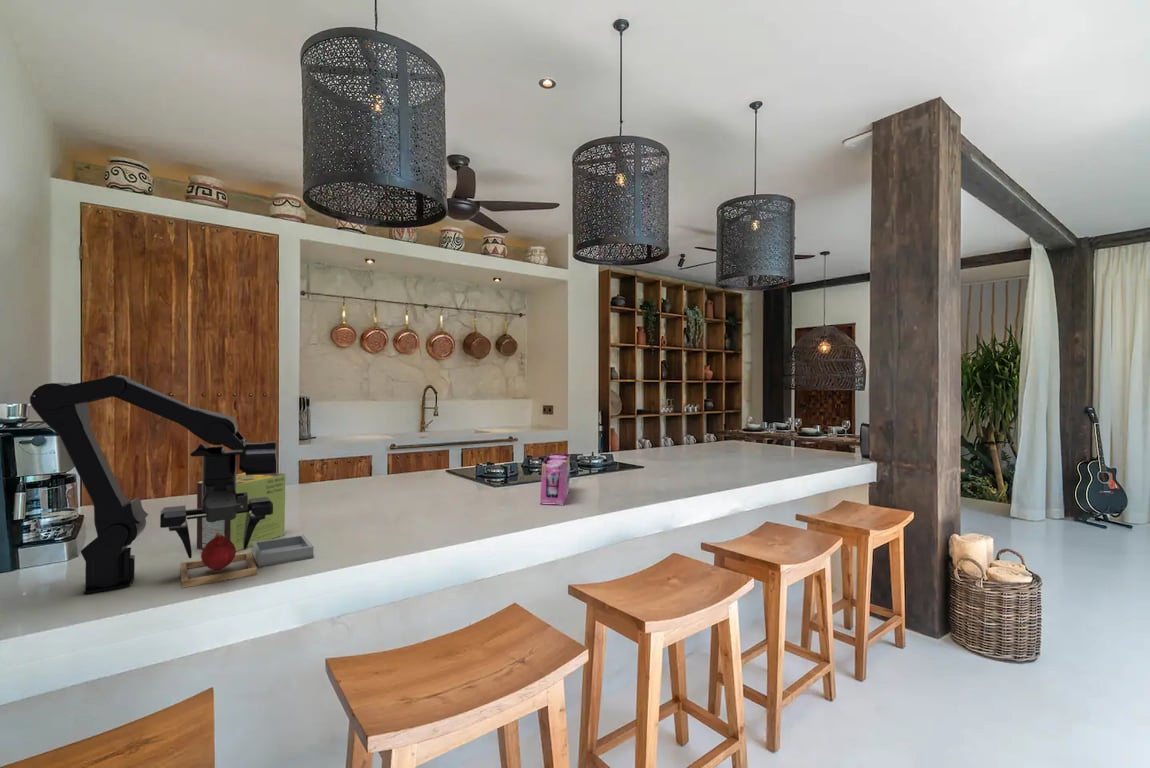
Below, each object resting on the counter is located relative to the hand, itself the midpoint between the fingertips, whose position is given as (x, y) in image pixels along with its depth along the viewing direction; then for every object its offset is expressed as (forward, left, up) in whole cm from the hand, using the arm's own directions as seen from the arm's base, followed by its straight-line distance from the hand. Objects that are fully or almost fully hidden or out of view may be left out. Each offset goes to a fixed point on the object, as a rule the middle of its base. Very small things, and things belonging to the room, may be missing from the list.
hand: (218, 553), depth 107 cm
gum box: (+97, +17, -4) cm, 98 cm away
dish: (+12, +3, -4) cm, 13 cm away
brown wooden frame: (0, 0, -4) cm, 4 cm away
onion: (0, 0, -4) cm, 4 cm away
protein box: (+6, +20, -4) cm, 21 cm away
